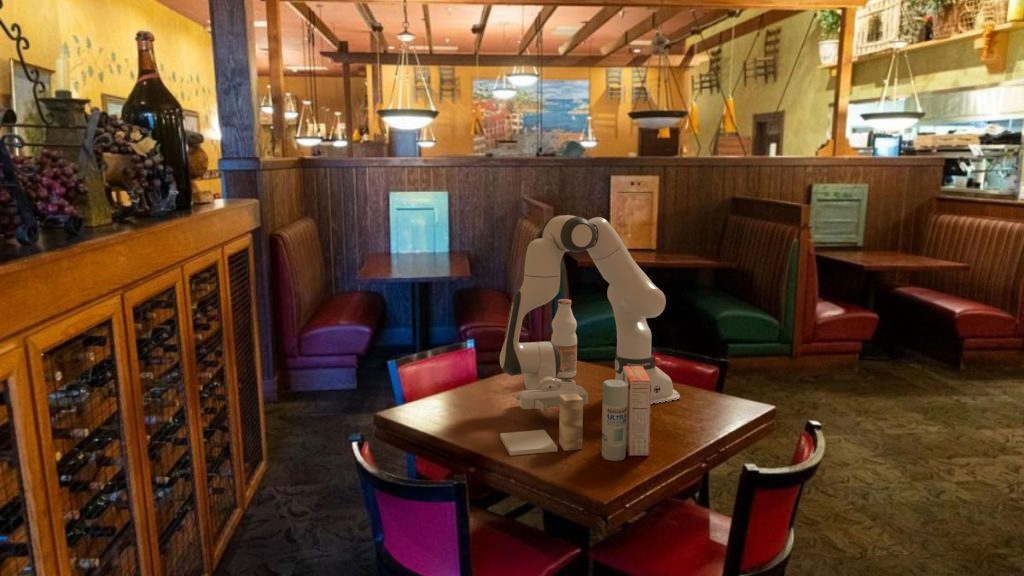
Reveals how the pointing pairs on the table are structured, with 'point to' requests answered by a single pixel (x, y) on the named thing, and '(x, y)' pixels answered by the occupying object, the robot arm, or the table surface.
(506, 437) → the board
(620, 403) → the spray paint can
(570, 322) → the fruit juice
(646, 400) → the cracker box
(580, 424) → the beech block
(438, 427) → the table surface
